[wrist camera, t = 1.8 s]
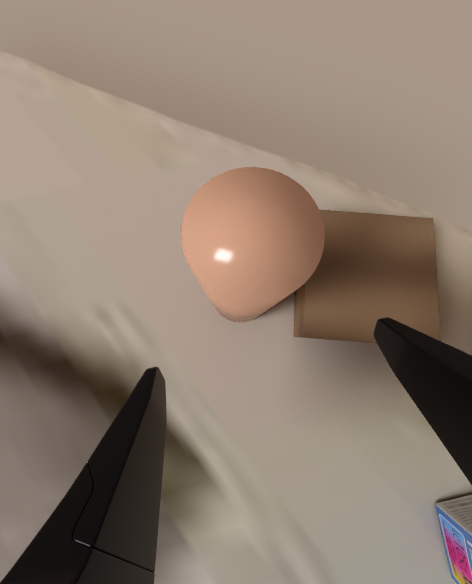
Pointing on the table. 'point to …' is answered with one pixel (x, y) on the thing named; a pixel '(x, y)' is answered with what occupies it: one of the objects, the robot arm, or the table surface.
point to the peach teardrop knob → (251, 240)
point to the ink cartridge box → (457, 536)
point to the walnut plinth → (370, 278)
